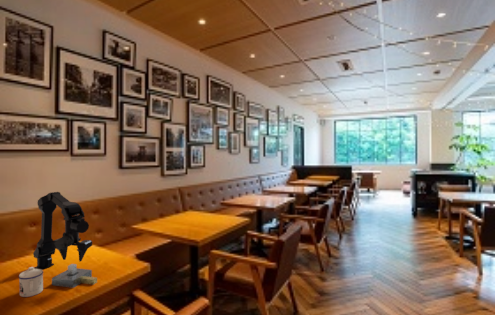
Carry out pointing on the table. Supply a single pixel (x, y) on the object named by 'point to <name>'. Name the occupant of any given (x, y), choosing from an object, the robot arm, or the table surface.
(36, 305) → the table surface
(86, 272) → the grey slotted block
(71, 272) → the wedge pin
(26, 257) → the table surface
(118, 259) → the table surface
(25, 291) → the teacup with lid
